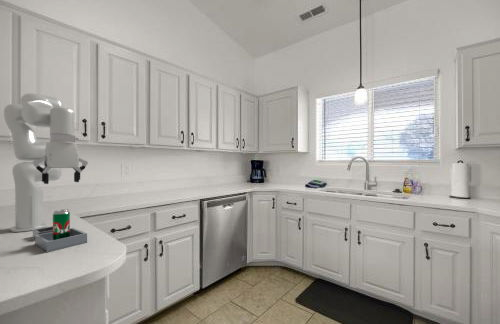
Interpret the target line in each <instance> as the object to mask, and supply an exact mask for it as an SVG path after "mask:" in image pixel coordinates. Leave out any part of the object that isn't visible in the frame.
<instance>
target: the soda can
mask: <svg viewBox="0 0 500 324" xmlns="http://www.w3.org/2000/svg"><path fill="white" fill-rule="evenodd" d="M52 226H53V240H57V239H62V238H66V237H70V228H71V212H70V211H69V209H58V210H54V211H53V214H52Z"/></svg>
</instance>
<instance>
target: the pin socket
mask: <svg viewBox="0 0 500 324" xmlns="http://www.w3.org/2000/svg"><path fill="white" fill-rule="evenodd" d="M50 232H53V225H51V226H46V227H44V228H40V229H35V230H32V238H34V239H35V235H39V234H44V233H50Z"/></svg>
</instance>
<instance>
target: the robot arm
mask: <svg viewBox="0 0 500 324" xmlns="http://www.w3.org/2000/svg"><path fill="white" fill-rule="evenodd" d="M75 116H76V115H75V111H74V110H73V109H72V108H69V107H63V104H62V102H61V101H60V100H59V99H58V98H56V97H53V96H50V95H49V96H48V95H44V94H38V93H26V94H24V95H22V96H21V98H20V104H19V103H10V104H7V105H6V106H5V107H4V109H3V118H4V120H5V123H6V127H8V129H9V132H10V133H11V137H12V144H13V150H14V151H13V152H14V155H15V158H16V159H17V160H19V161H20V162H18V163H16V164H14V165H13V167H12V169H11V170H12V176H13V180H14V181H13V182H14V193H15V194H14V197H15V199H14V200H15V202H14V203H15V204H14V207H15V208H14V211H15V212H14V215H15V216H14V217H15V218H14V223H15V224H14V226H12V227H10V230H9V231H10V232H13V233H16V232H17V233H20V232H29V231H31V232H32V231H33V230H35V229H41V228H46V227H48V223H47V222H44V191H43V188H42V187H41V186H40V185H39V184H38V183H37V182H41V183H43V185H44V184H45V185H48V184H49V181H50V182H51V181H52V182H53V181H57V180H59V179H60V178H61V177H62V169H73V171H74V173H73V182H75V183H79V182H80V180H81V173H82V172H83V171H84V170H85V169H86V167H87V166H88V164H89V162H88V160H86V159H85V160H84V159H82V158H80V157H79V152H78V151H79V150H78V146H77V143H75V142H79V137H77V136H75V127H76V126H75V118H76V117H75ZM27 124H28V125H27ZM29 125H30V126H29ZM31 126H34V127H44V128H49V141H48V142H44V141H38V139H37V138H38V137H37V134H36V132H35V130H33V129H32V127H31ZM79 163H81V166H79Z"/></svg>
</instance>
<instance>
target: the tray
mask: <svg viewBox="0 0 500 324" xmlns="http://www.w3.org/2000/svg"><path fill="white" fill-rule="evenodd" d="M34 239H35V240H34V245H35V246H37V247H38V248H40V249H41V250H42V251H44V252H46V253H50V252H54V251H58V250H62V249H67V248H70V247H75V246H79V245H84V244H87V243H88V233H87V232H84V231H82V230H79V229H77V228H74V227H70V237H66V238H62V239H57V240H53V232H50V233H44V234H39V235H35V238H34Z"/></svg>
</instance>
